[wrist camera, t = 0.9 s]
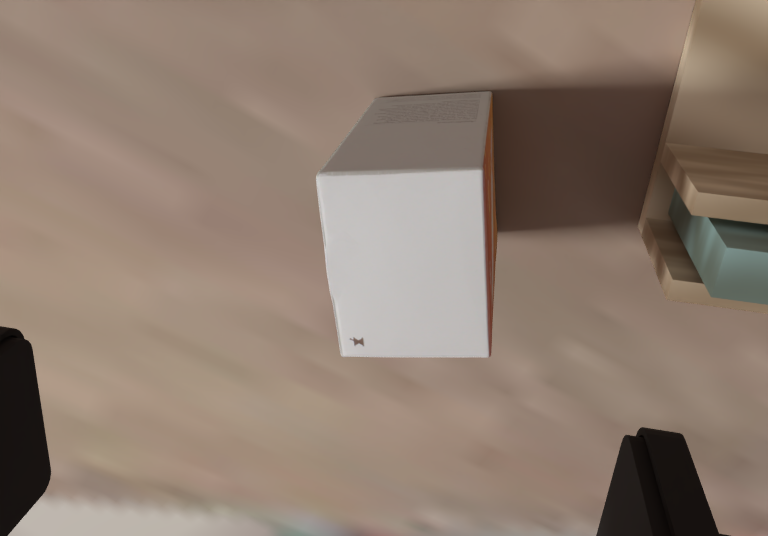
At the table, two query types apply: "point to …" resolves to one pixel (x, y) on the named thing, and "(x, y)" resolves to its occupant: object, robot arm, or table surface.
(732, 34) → the book rack
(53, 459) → the table surface
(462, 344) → the small box
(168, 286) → the table surface
